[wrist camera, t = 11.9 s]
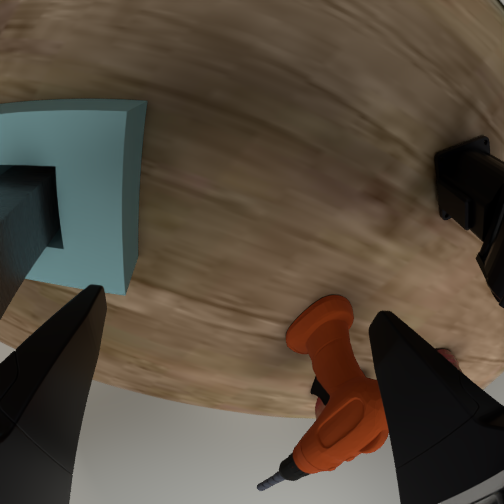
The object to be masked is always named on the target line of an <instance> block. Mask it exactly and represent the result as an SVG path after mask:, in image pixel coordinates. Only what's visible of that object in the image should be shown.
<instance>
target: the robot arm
mask: <svg viewBox="0 0 504 504" xmlns="http://www.w3.org/2000/svg"><path fill="white" fill-rule="evenodd" d="M484 141H485V142H484ZM440 158H441V160H440ZM435 166H436V174H437V190H438V201H439V206H440V216H441V218H442V219H443V220H448V219H450V218H453V219H454V220H455V221H456V222H457V223H458V224H460V225H461V226H462V227H463V228H464V229H465V230H469V229H470V230H471V231H472V232H473V233H474V234H475V235H476V236H477V237H478V238H479V239H480V240H481V241H482V242H483V245H482V247H481V250H480V252H479V253H478V255H477V257H476V260H477V262H478V264H479V266H480V268H481V270H482V272H483V274H484V277H485V279H486V282H487V285H488V287H489V288H490V290H491V292H492V294H493V295H494V297H495V299H496V300H497V301H498V302H499V305H500V306H501V307H503V308H504V162H503V161H501V160H500V159H498V158H496V157H495V156H493V155H491V154H490V145H489V139H488V137H486V136H484V135H483V136H480V137H477V138H475V139H472V140H469V141H467V142H464V143H461V144H459V145H456V146H454V147H451V148H448V149H446V150H443V151H441V152H438V153H437V154H436V155H435ZM445 214H446V215H445ZM106 311H107V304H106V297H105V290H104V287H103V286H102V285H96V284H90V285H88V286H87V287H86V288H85V289H84V290H82V291H81V292H80V293H79V294H78V295H76V296H75V297H74V298H73V299H72V300H70V301H69V302H68V303H67V304H66V305H65V306H63V307H62V308H61V309H60V310H59V311H58V312H56V313H55V314H54V315H53V316H52V317H51V318H50V319H48V320H47V321H46V322H45V323H44V324H43V325H42V326H41V327H39V328H38V329H37V330H36V331H35V332H34V333H33V334H32V335H31V336H29V337H28V338H27V339H26V340H25V341H24V342H23V343H22V344H21V345H20V346H19V347H18V348H17V349H16V351H13V352H12V353H11V354H10V355H9V356H8V357H7V358H6V359H5V360H4V361H3V362H1V363H0V504H69V500H70V492H71V483H72V476H73V475H72V474H73V469H74V463H75V456H76V451H77V445H78V440H79V434H80V430H81V425H82V420H83V415H84V411H85V407H86V402H87V397H88V394H89V390H90V386H91V382H92V378H93V374H94V371H95V367H96V363H97V359H98V355H99V350H100V344H101V338H102V333H103V327H104V322H105V317H106ZM369 338H370V344H371V350H372V356H373V363H374V369H375V373H376V377H377V381H378V386H379V390H380V394H381V398H382V403H383V407H384V411H385V416H386V421H387V425H388V430H389V435H390V440H391V446H392V451H393V456H394V462H395V468H396V474H397V481H398V488H399V495H400V502H401V504H438V503H441V504H504V406H503V405H501V404H500V403H499V402H497V401H496V400H495V399H493V398H492V397H491V396H490V395H488V394H487V393H486V392H485V391H483V390H482V389H481V388H480V387H478V386H477V385H476V384H475V383H473V382H472V381H471V380H470V379H469V378H468V377H467V376H465V375H464V374H463V373H462V372H461V371H460V370H459V369H458V370H457V368H456V367H455V366H454V365H453V364H452V363H451V362H450V361H448V360H447V359H446V358H445V357H444V356H443V355H442V354H440V353H439V352H438V351H437V350H436V349H435V348H434V347H432V346H431V345H430V344H429V343H428V342H427V341H425V340H424V339H423V338H422V337H421V336H420V335H418V334H417V333H416V332H415V331H414V330H412V329H411V328H410V327H409V326H408V325H407V324H405V323H404V322H403V321H402V320H401V319H399V318H398V317H397V316H396V315H395V314H393V313H392V312H391V311H380V312H378V314H377V315H376V317H375V318H374V320H373V322H372V323H371V325H370V327H369Z"/></svg>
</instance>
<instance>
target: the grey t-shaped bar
mask: <svg viewBox="0 0 504 504" xmlns="http://www.w3.org/2000/svg"><path fill="white" fill-rule="evenodd" d="M60 228H61V226H60V217H59V208H58V197H57V184H56V166H35V165H14V166H12V167H11V168H10V169H8V170H7V171H5V172H4V173H3V174H1V175H0V319H1V318H2V316H3V314H4V312H5V311H6V309H7V307H8V305H9V304H10V302H11V300H12V298H13V297H14V295H15V293H16V292H17V290H18V289H19V287H20V285H21V284H22V282H23V281H24V279H25V277H26V276H27V274H28V273H29V271H30V270H31V268H32V267H33V265H34V264H35V262H36V261H37V259H38V258H39V257H40V255H41V254H42V252H43V251H44V249H45V248H46V247H47V245H48V244H49V243H50V241H51V240H52V238H53V237H54V236H55V234H56V233H57V232H58V230H59V229H60Z"/></svg>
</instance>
